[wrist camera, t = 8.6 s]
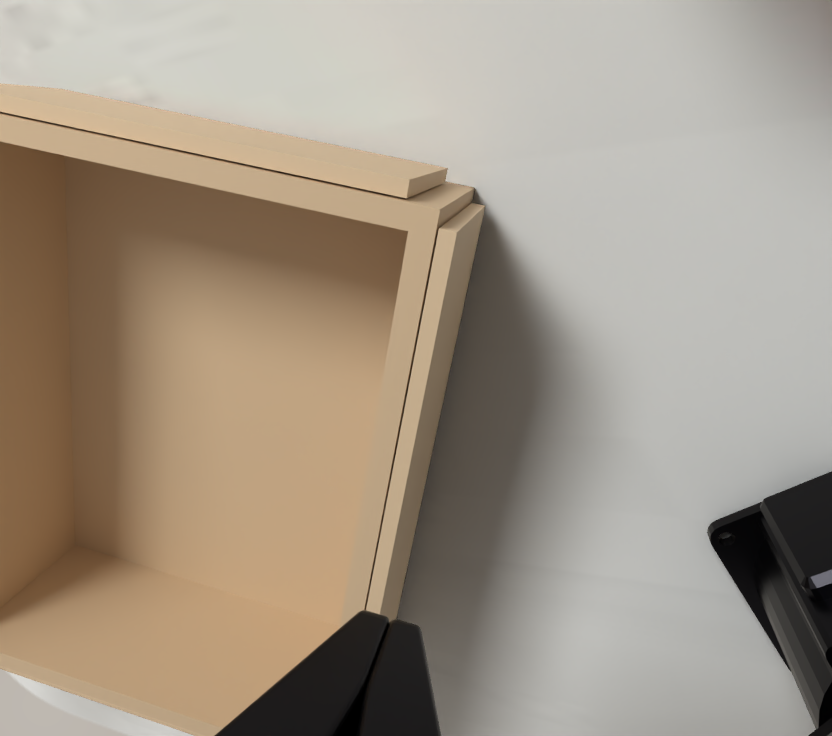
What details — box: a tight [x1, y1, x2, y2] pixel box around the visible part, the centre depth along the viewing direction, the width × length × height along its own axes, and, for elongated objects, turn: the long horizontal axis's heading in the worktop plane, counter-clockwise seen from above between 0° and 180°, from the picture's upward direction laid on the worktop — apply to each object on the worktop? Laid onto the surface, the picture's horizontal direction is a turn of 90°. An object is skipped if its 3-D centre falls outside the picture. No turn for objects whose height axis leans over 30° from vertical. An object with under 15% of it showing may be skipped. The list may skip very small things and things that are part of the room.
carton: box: [0, 83, 485, 736], centre depth 21 cm, size 14×19×6 cm
